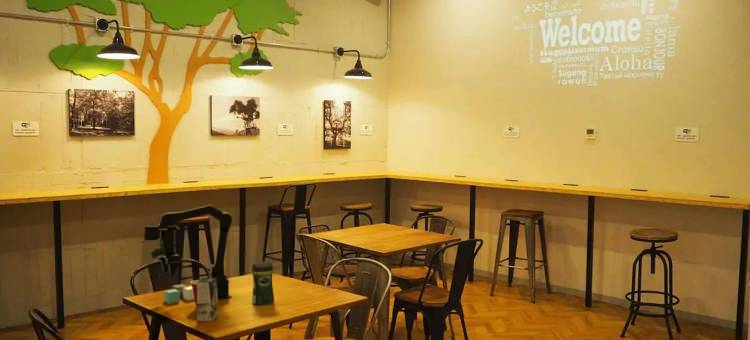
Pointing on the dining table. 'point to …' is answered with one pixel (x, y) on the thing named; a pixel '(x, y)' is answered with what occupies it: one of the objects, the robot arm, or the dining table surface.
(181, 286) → the walnut block
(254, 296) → the coffee jar
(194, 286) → the plastic cup
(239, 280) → the dining table surface
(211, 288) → the coffee box
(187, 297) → the cream block
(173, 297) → the teal block
